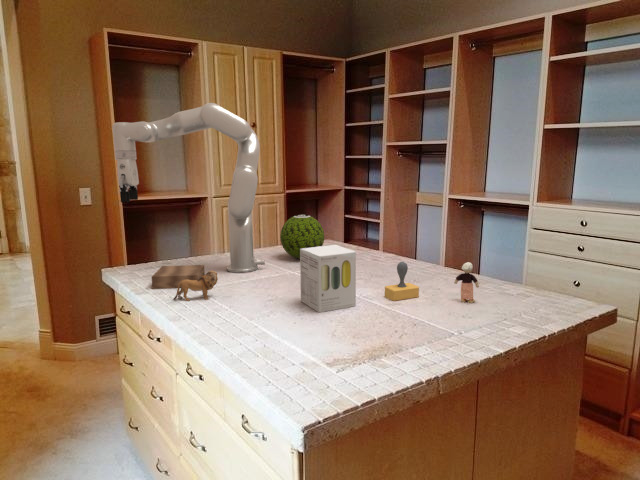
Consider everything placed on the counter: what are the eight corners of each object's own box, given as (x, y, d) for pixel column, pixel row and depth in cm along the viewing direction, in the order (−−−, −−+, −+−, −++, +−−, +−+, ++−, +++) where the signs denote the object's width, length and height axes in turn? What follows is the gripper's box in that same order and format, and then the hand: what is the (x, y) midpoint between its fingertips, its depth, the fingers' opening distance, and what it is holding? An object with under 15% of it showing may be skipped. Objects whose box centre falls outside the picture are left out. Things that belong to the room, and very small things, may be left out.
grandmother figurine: (478, 300, 150) (480, 261, 147) (478, 304, 146) (480, 264, 144) (453, 298, 152) (455, 260, 150) (452, 301, 149) (454, 262, 146)
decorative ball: (324, 263, 202) (324, 217, 199) (278, 263, 203) (277, 217, 199) (324, 253, 222) (324, 211, 218) (282, 253, 222) (281, 212, 218)
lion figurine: (217, 294, 159) (216, 268, 158) (219, 298, 154) (218, 272, 153) (172, 299, 154) (170, 272, 153) (173, 303, 149) (171, 276, 148)
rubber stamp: (409, 292, 159) (409, 258, 157) (419, 297, 154) (420, 262, 151) (384, 296, 155) (384, 261, 153) (393, 301, 150) (394, 265, 147)
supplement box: (318, 313, 139) (318, 256, 136) (300, 301, 151) (299, 248, 148) (356, 306, 145) (356, 251, 142) (335, 295, 157) (335, 244, 154)
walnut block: (204, 277, 183) (204, 264, 182) (198, 288, 167) (197, 275, 167) (163, 278, 182) (162, 266, 181) (152, 290, 166) (151, 276, 165)
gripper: (128, 155, 169) (132, 203, 172) (142, 155, 186) (146, 198, 189) (107, 156, 168) (111, 203, 171) (123, 155, 185) (127, 199, 188)
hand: (129, 200), depth 180 cm, fingers open, 9 cm apart
